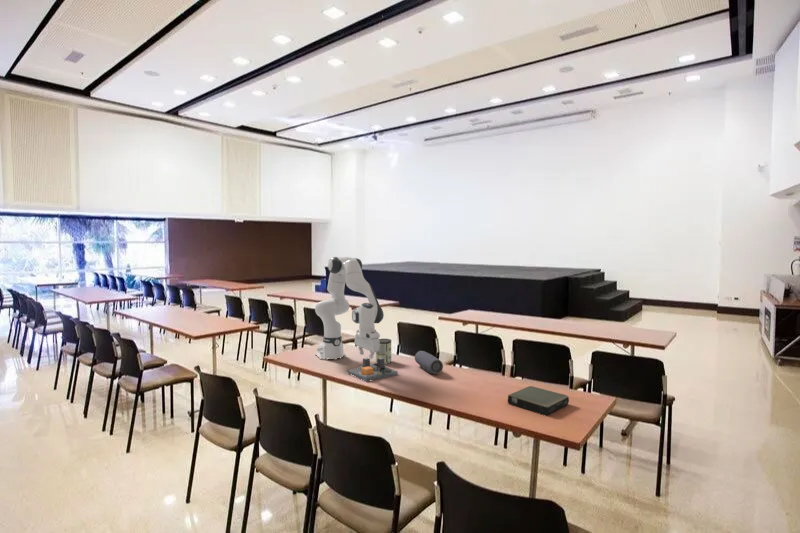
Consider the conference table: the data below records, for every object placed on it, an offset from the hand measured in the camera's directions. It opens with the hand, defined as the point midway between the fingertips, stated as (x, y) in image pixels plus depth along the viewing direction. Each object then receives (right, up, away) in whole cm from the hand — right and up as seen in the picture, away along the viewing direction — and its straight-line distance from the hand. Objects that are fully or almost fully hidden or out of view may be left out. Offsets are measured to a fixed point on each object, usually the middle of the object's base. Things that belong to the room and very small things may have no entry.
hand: (366, 356), depth 255 cm
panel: (+3, -12, +9) cm, 15 cm away
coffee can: (+9, -11, +35) cm, 38 cm away
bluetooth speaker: (+36, -12, +16) cm, 42 cm away
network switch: (+86, -16, -39) cm, 96 cm away
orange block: (+1, -11, 0) cm, 11 cm away
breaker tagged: (-1, -10, +13) cm, 16 cm away
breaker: (+8, -10, +14) cm, 18 cm away
